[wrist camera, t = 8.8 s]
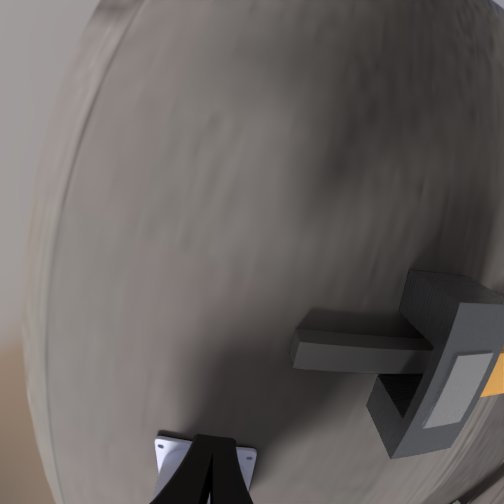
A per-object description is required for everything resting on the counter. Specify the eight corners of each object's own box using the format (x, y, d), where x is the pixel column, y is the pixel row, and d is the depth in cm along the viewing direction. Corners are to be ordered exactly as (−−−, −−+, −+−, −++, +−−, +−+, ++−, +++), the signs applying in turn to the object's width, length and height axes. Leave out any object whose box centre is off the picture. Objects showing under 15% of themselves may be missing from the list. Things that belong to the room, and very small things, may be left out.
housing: (420, 401, 20) (451, 449, 14) (366, 405, 20) (391, 461, 14) (465, 276, 18) (519, 306, 12) (408, 269, 18) (462, 304, 12)
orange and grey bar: (286, 364, 19) (293, 403, 15) (298, 314, 18) (309, 347, 14) (480, 368, 20) (505, 392, 16) (497, 330, 19) (525, 351, 15)
